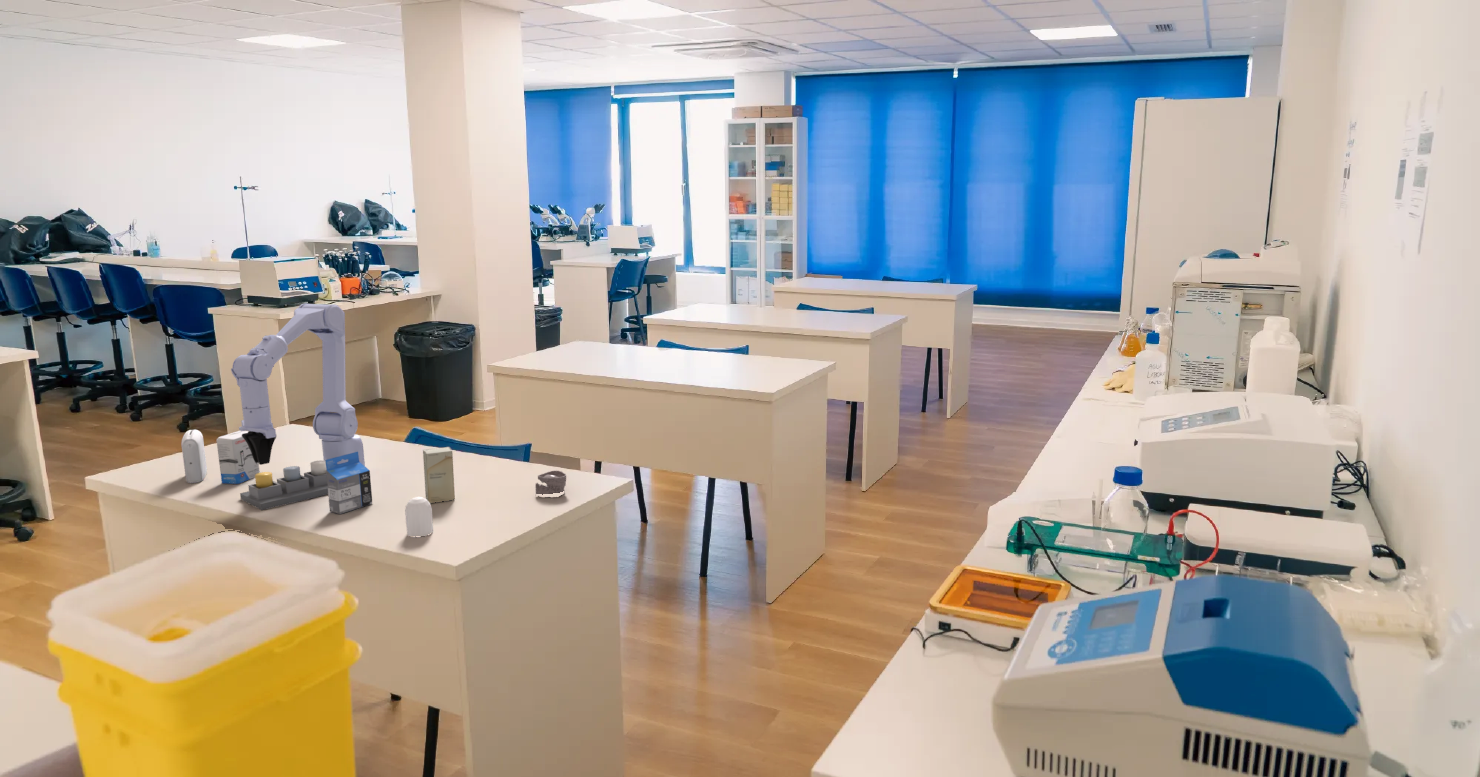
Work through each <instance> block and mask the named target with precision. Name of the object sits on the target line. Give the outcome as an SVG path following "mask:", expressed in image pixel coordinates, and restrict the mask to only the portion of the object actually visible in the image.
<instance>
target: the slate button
mask: <svg viewBox="0 0 1480 777" xmlns="http://www.w3.org/2000/svg"><path fill="white" fill-rule="evenodd" d="M282 471H283V477H284V481H286V482H292V481H296V480H300V479H301V475H302V474H301V467H300V466H297V465H292V466H291V465H290V466H286V467H284V468H283V469H282Z"/></svg>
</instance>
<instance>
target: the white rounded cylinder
mask: <svg viewBox="0 0 1480 777" xmlns="http://www.w3.org/2000/svg"><path fill="white" fill-rule="evenodd" d="M431 504H432V503H429V501H428V500H427V499H426V497H422V496H413V497H412V498H410V499H409V500H408V502H407V503H406V505H405V508H404V509H405V510H404V512H405V513H404V514H405V524H406V525H405V526H406V535H407V536H408V537H409V536H415V537H416V536H425V537H427V536H426V535H428V534H430V533H432V532H433V533H434V525H433V509H432V505H431ZM433 533H432V534H433ZM428 536H429V535H428ZM415 537H414V538H415Z"/></svg>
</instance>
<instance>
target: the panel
mask: <svg viewBox="0 0 1480 777" xmlns="http://www.w3.org/2000/svg"><path fill="white" fill-rule="evenodd" d="M300 475H301V479H300V480H296V481H292V482H286V481H284V476H283V477H280V478H276V481H275V480H273V486H269V487H265V488H257V487H256V483H252V484H247V485H248V486H247V487H248V491H245V492H244V491H243V492H241V493H239V494H240V500H241V501H243V502H246V504H249V505H251V506H253V507H254V508H256V509H259V510H261V511H264V510H269V509H272V508H276V507H280V506H284V505H285V504H286V505H288V504H293V503H297V501H298V502H301V501H307V500H309V499H314V498H318V497H323V496H327V495H328V485H327V474H323V475H319V476H313V475H311V471H307V472H304V473H303V475H302V474H300ZM286 505H285V506H286Z"/></svg>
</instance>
